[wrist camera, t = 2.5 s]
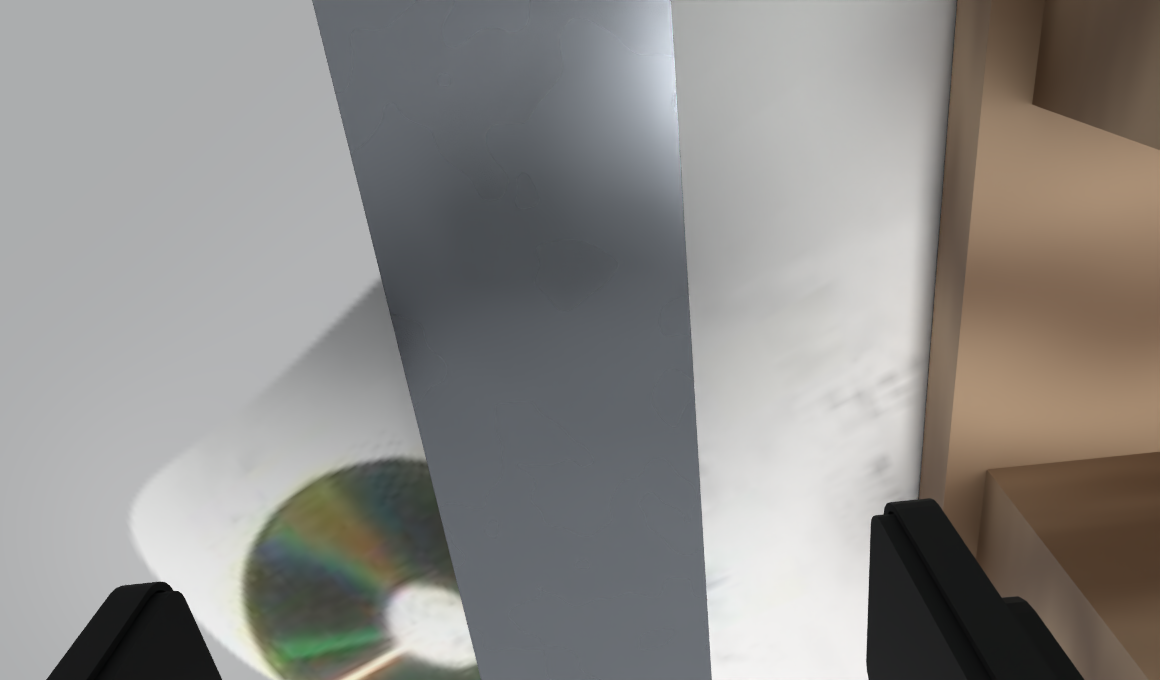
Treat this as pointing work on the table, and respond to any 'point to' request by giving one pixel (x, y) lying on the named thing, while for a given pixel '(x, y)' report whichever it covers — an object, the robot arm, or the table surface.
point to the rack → (1054, 319)
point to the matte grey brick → (540, 315)
